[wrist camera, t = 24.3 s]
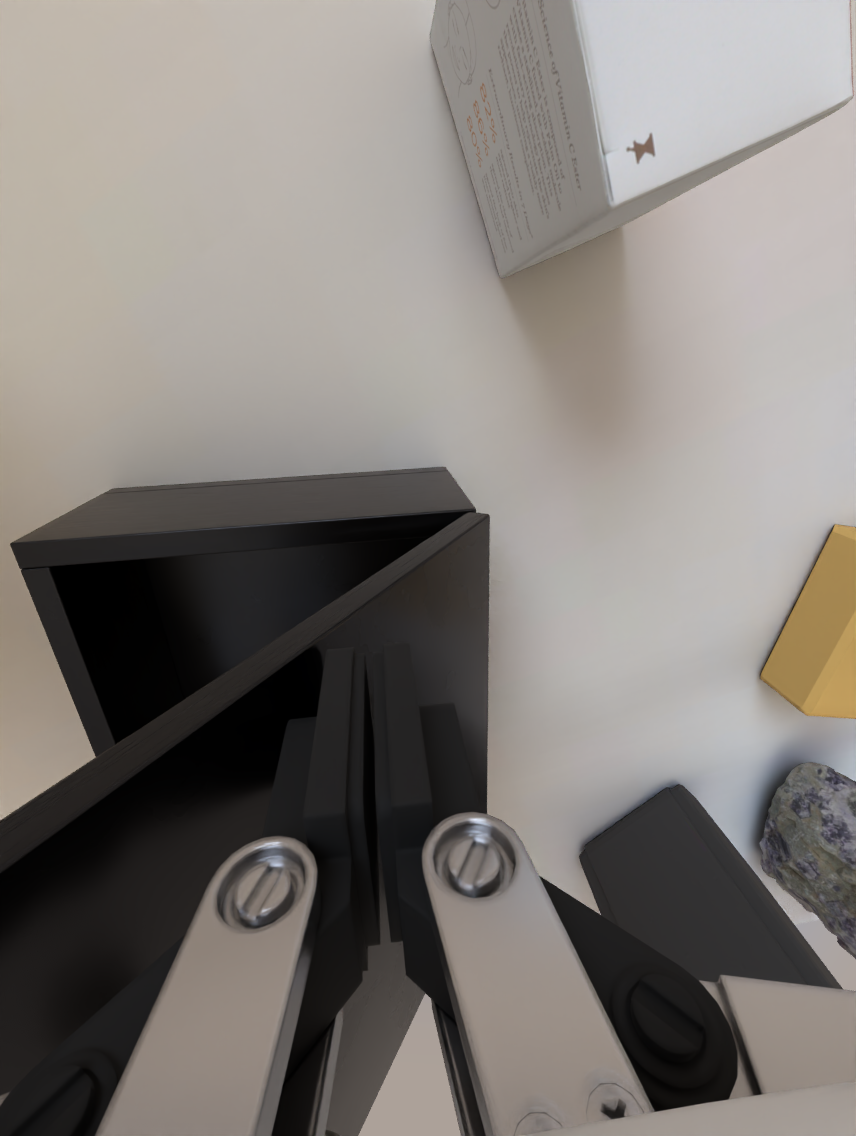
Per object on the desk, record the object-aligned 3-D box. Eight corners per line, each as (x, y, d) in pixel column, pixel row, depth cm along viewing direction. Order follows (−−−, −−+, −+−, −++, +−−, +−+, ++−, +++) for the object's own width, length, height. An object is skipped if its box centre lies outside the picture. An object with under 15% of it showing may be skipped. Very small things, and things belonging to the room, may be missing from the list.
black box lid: (174, 1440, 11) (331, 1678, 9) (-309, 1019, 4) (-122, 1598, 2) (471, 855, 23) (564, 899, 21) (468, 511, 17) (604, 528, 15)
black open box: (197, 775, 28) (150, 895, 22) (111, 488, 22) (8, 543, 15) (453, 745, 30) (476, 850, 24) (445, 466, 23) (476, 508, 17)
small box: (624, 226, 20) (863, 110, 10) (495, 282, 20) (613, 219, 11) (576, -39, 17) (859, -560, 7) (423, 32, 17) (499, -379, 7)
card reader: (598, 873, 36) (741, 1188, 23) (566, 849, 35) (698, 1171, 21) (703, 801, 34) (926, 1096, 21) (673, 773, 33) (893, 1070, 19)
